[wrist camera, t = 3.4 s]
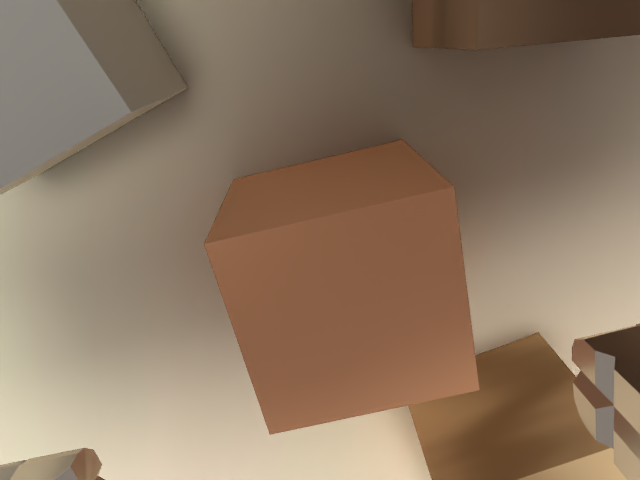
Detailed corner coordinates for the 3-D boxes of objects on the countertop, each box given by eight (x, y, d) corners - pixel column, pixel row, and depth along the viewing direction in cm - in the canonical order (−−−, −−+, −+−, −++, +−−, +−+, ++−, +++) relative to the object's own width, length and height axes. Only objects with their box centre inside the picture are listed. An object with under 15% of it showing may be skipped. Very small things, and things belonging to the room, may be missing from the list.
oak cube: (537, 330, 17) (630, 441, 12) (566, 433, 19) (657, 563, 14) (401, 381, 17) (440, 505, 13) (442, 475, 19) (490, 614, 14)
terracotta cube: (401, 139, 14) (454, 186, 9) (425, 288, 16) (479, 390, 11) (233, 178, 14) (203, 244, 10) (277, 321, 16) (269, 434, 11)
